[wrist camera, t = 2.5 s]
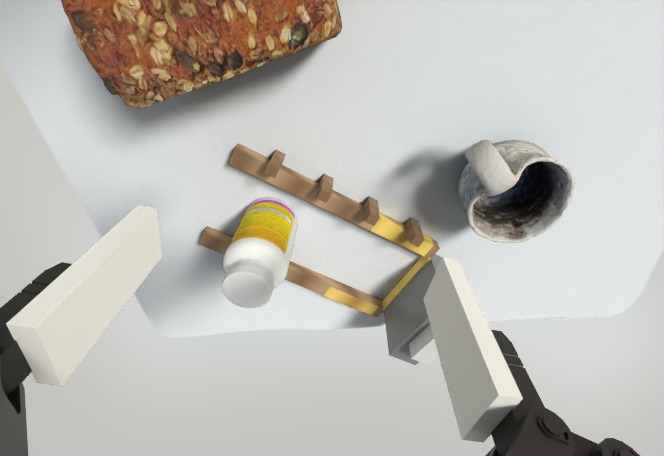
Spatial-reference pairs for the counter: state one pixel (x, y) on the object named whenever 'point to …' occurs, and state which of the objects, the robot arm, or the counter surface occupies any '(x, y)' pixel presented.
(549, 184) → the mug
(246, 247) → the supplement bottle
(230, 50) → the bread
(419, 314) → the grey carton
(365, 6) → the counter surface
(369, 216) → the wooden rack
